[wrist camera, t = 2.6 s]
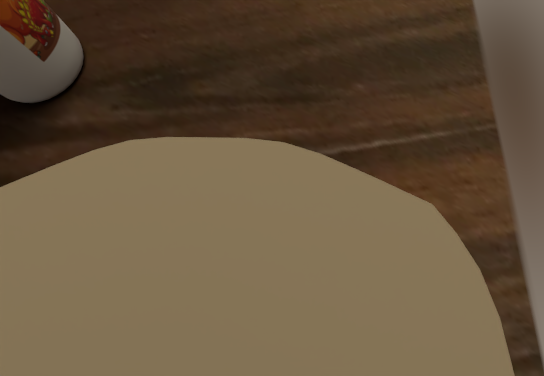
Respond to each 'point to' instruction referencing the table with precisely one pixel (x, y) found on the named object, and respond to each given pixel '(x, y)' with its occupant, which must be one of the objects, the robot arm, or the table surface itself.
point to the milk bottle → (35, 52)
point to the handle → (234, 269)
